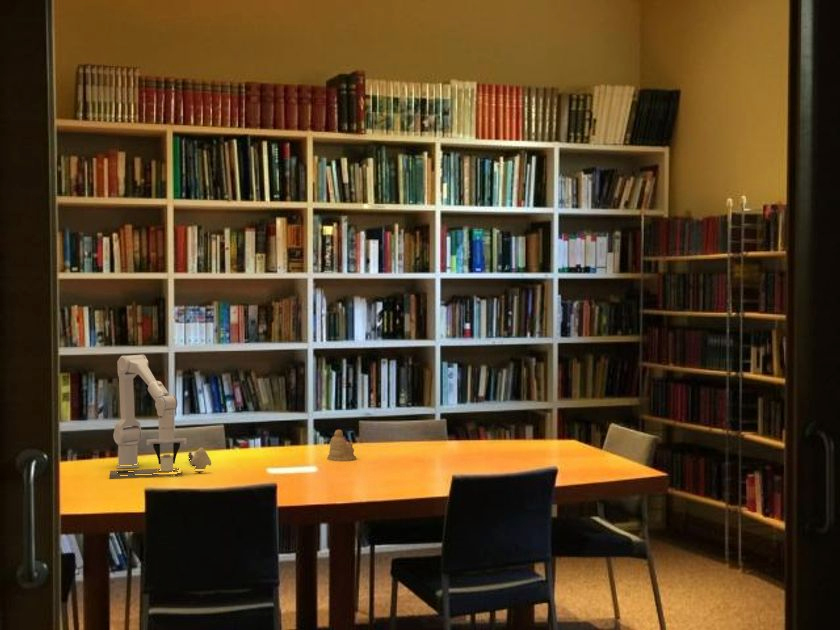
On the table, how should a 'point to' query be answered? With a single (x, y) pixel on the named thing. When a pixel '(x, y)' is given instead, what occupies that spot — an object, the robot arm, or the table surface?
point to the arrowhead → (200, 459)
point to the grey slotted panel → (143, 471)
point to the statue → (340, 449)
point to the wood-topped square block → (167, 463)
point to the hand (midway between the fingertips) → (166, 463)
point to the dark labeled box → (191, 456)
